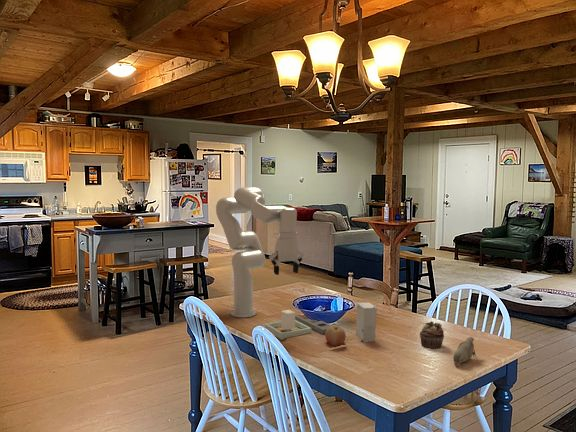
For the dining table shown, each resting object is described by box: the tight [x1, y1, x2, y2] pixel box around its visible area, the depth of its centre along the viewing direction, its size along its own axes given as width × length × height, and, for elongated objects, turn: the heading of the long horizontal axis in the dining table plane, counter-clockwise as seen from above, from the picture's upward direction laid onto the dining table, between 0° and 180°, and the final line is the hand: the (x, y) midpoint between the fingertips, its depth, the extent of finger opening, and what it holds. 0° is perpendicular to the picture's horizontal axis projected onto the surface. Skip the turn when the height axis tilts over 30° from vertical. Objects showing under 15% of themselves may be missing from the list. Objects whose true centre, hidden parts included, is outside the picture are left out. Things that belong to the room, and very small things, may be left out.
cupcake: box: [419, 320, 445, 350], centre depth 195 cm, size 10×10×10 cm
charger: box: [280, 309, 296, 332], centre depth 209 cm, size 5×4×9 cm
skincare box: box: [355, 302, 378, 343], centre depth 202 cm, size 8×6×15 cm
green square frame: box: [264, 320, 312, 341], centre depth 210 cm, size 15×15×3 cm
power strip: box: [295, 313, 332, 335], centre depth 220 cm, size 31×7×4 cm, turn 31°
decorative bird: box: [452, 336, 477, 368], centre depth 179 cm, size 5×16×8 cm, turn 140°
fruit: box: [324, 324, 347, 348], centre depth 194 cm, size 8×8×8 cm
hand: (286, 273), depth 213 cm, fingers open, 9 cm apart
